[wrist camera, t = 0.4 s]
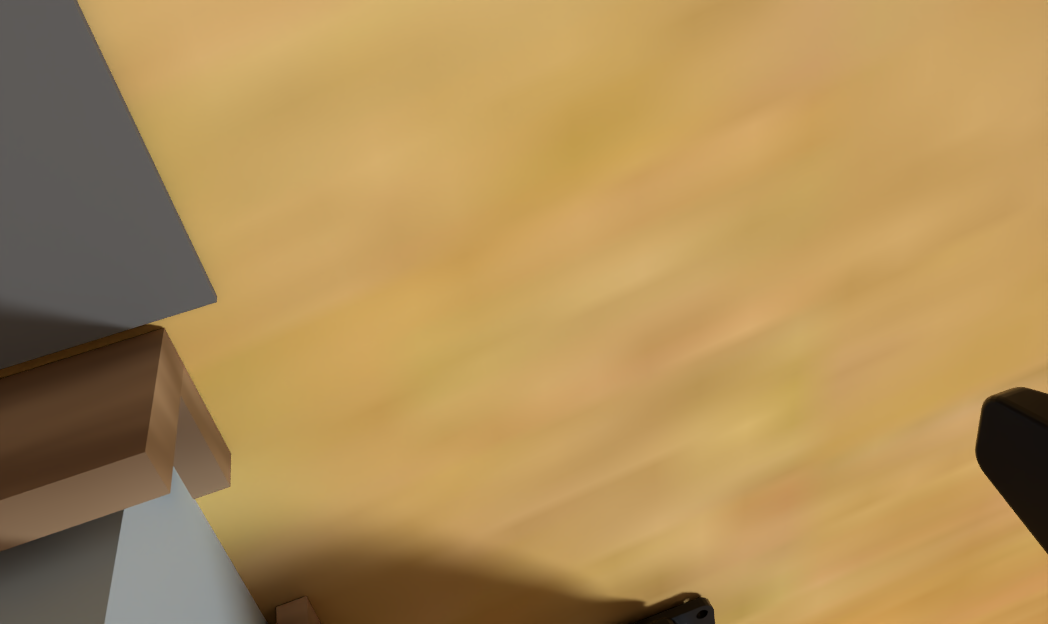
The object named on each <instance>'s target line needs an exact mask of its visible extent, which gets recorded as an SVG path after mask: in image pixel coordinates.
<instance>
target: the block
mask: <svg viewBox="0 0 1048 624" xmlns="http://www.w3.org/2000/svg"><path fill="white" fill-rule="evenodd" d="M0 624H268V623H267V621H266V620H265V618H264V616H263V615H262V613H261V611H260V609H259V608H258V606H257V604H256V603H255V601H254V599H253V598H252V596H251V594H250V592H249V591H248V589H247V587H246V586H245V584H244V582H243V581H242V579H241V577H240V575H239V574H238V572H237V570H236V569H235V567H234V565H233V564H232V562H231V560H230V558H229V557H228V555H227V553H226V552H225V550H224V548H223V547H222V545H221V543H220V541H219V540H218V538H217V536H216V535H215V533H214V531H213V530H212V528H211V526H210V524H209V523H208V521H207V519H206V518H205V516H204V514H203V513H202V511H201V509H200V507H199V506H198V504H197V502H196V501H195V499H193V498H192V497H191V495H190V493H189V492H188V490H187V488H186V486H185V485H184V483H183V481H182V480H181V478H180V476H179V475H178V473H177V471H176V470H175V468H174V466H173V472H172V481H171V491H170V494H167V495H164V496H161V497H158V498H155V499H152V500H150V501H147V502H144V503H141V504H138V505H135V506H132V507H129V508H126V509H123V510H120V511H117V512H115V513H112V514H109V515H106V516H103V517H100V518H97V519H94V520H91V521H88V522H85V523H82V524H79V525H77V526H74V527H71V528H68V529H65V530H62V531H59V532H56V533H53V534H50V535H47V536H44V537H41V538H39V539H36V540H33V541H30V542H27V543H24V544H21V545H18V546H15V547H12V548H9V549H6V550H3V551H1V552H0Z"/></svg>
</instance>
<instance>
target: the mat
mask: <svg viewBox="0 0 1048 624" xmlns="http://www.w3.org/2000/svg"><path fill="white" fill-rule="evenodd" d="M215 302H217V295H216V293H215V291H214V289H213V287H212V285H211V283H210V281H209V278H208V276H207V274H206V272H205V270H204V268H203V266H202V264H201V262H200V259H199V257H198V255H197V253H196V251H195V249H194V247H193V245H192V243H191V240H190V238H189V236H188V234H187V232H186V230H185V228H184V226H183V224H182V222H181V219H180V217H179V215H178V213H177V211H176V209H175V207H174V205H173V203H172V200H171V198H170V196H169V194H168V192H167V190H166V188H165V186H164V184H163V181H162V179H161V177H160V175H159V173H158V171H157V169H156V167H155V165H154V162H153V160H152V158H151V156H150V154H149V152H148V150H147V148H146V146H145V143H144V141H143V139H142V137H141V135H140V133H139V131H138V129H137V127H136V124H135V122H134V120H133V118H132V116H131V114H130V112H129V110H128V108H127V105H126V103H125V101H124V99H123V97H122V95H121V93H120V91H119V89H118V86H117V84H116V82H115V80H114V78H113V76H112V74H111V72H110V70H109V67H108V65H107V63H106V61H105V59H104V57H103V55H102V53H101V51H100V49H99V46H98V44H97V42H96V40H95V38H94V36H93V34H92V32H91V30H90V27H89V25H88V23H87V21H86V19H85V17H84V15H83V13H82V11H81V8H80V6H79V4H78V2H77V0H0V369H3V368H6V367H10V366H13V365H16V364H19V363H22V362H26V361H29V360H32V359H35V358H38V357H42V356H45V355H48V354H51V353H55V352H58V351H61V350H64V349H67V348H71V347H74V346H77V345H80V344H83V343H87V342H90V341H93V340H96V339H100V338H103V337H106V336H109V335H112V334H116V333H119V332H122V331H125V330H128V329H132V328H135V327H138V326H141V325H145V324H148V323H151V322H154V321H157V320H161V319H164V318H167V317H170V316H173V315H177V314H180V313H183V312H186V311H190V310H193V309H196V308H199V307H202V306H206V305H209V304H212V303H215Z"/></svg>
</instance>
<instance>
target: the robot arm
mask: <svg viewBox="0 0 1048 624" xmlns="http://www.w3.org/2000/svg"><path fill="white" fill-rule="evenodd" d="M975 453H976V458H977V461H978V464H979V465H980V467H981V469H982V471H983V472H984V474H985V475H986V476H987V477H988V479H989V480H990V481H991V482H992V484H993V485H994V486H995V488H996V489H997V490H998V491H999V493H1000V494H1001V495H1002V496H1003V498H1004V499H1005V500H1006V502H1007V503H1008V504H1009V505H1010V507H1011V508H1012V509H1013V510H1014V512H1015V513H1016V514H1017V516H1018V517H1019V518H1020V519H1021V521H1022V522H1023V523H1024V524H1025V526H1026V527H1027V528H1028V530H1029V531H1030V532H1031V533H1032V535H1033V536H1034V537H1035V538H1036V540H1037V541H1038V542H1039V544H1040V545H1041V546H1042V547H1043V549H1044V550H1045V551H1046V553H1047V554H1048V394H1047V393H1043V392H1040V391H1036V390H1033V389H1029V388H1025V387H1016V388H1012V389H1009V390H1006V391H1003V392H1000V393H998V394H995V395H992V396H990V397H988V398H987V399H986V400H985V401H984V403H983V405H982V409H981V415H980V421H979V428H978V434H977V440H976V446H975ZM634 624H715V619H714V609H713V607H712V606H711V604H710V602H709V601H708V599H706V598H697V599H694V600H692V601H689V602H687V603H684V604H682V605H679V606H677V607H674V608H672V609H669V610H667V611H664V612H662V613H659V614H657V615H654V616H652V617H649V618H647V619H644V620H642V621H639V622H637V623H634Z"/></svg>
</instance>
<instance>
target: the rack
mask: <svg viewBox="0 0 1048 624" xmlns="http://www.w3.org/2000/svg"><path fill="white" fill-rule="evenodd" d="M173 466H174V468H175V470H176V471H177V473H178V475H179V476H180V478H181V480H182V481H183V483H184V485H185V486H186V488H187V490H188V492H189V493H190V495H191V497H192V498H193V499H196V498H199V497H202V496H204V495H207V494H210V493H213V492H216V491H219V490H222V489H225V488H228V487H230V480H231V453H230V451H229V449H228V447H227V445H226V443H225V442H224V440H223V438H222V436H221V434H220V432H219V430H218V428H217V427H216V425H215V423H214V421H213V419H212V417H211V415H210V413H209V411H208V410H207V408H206V406H205V404H204V402H203V400H202V398H201V396H200V394H199V393H198V391H197V389H196V387H195V385H194V383H193V381H192V379H191V377H190V376H189V374H188V372H187V370H186V368H185V366H184V364H183V362H182V360H181V359H180V357H179V355H178V353H177V351H176V349H175V347H174V345H173V344H172V342H171V340H170V338H169V336H168V334H167V332H166V330H165V328H162V329H159V330H156V331H152V332H149V333H146V334H143V335H140V336H136V337H133V338H130V339H127V340H124V341H120V342H117V343H114V344H111V345H108V346H104V347H101V348H98V349H95V350H92V351H88V352H85V353H82V354H79V355H76V356H72V357H69V358H66V359H63V360H60V361H56V362H53V363H50V364H47V365H44V366H40V367H37V368H34V369H31V370H28V371H24V372H21V373H18V374H15V375H12V376H8V377H5V378H2V379H0V552H1V551H3V550H6V549H9V548H12V547H15V546H18V545H21V544H24V543H27V542H30V541H33V540H36V539H39V538H41V537H44V536H47V535H50V534H53V533H56V532H59V531H62V530H65V529H68V528H71V527H74V526H77V525H79V524H82V523H85V522H88V521H91V520H94V519H97V518H100V517H103V516H106V515H109V514H112V513H115V512H117V511H120V510H123V509H126V508H129V507H132V506H135V505H138V504H141V503H144V502H147V501H150V500H152V499H155V498H158V497H161V496H164V495H167V494H170V491H171V481H172V472H173ZM276 616H277V624H321V623H320V621H319V619H318V617H317V615H316V613H315V611H314V609H313V608H312V606H311V604H310V602H309V600H308V598H307V596H305V597H302V598H300V599H297V600H294V601H291V602H289V603H286V604H283V605H281V606H278V607H276Z"/></svg>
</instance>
